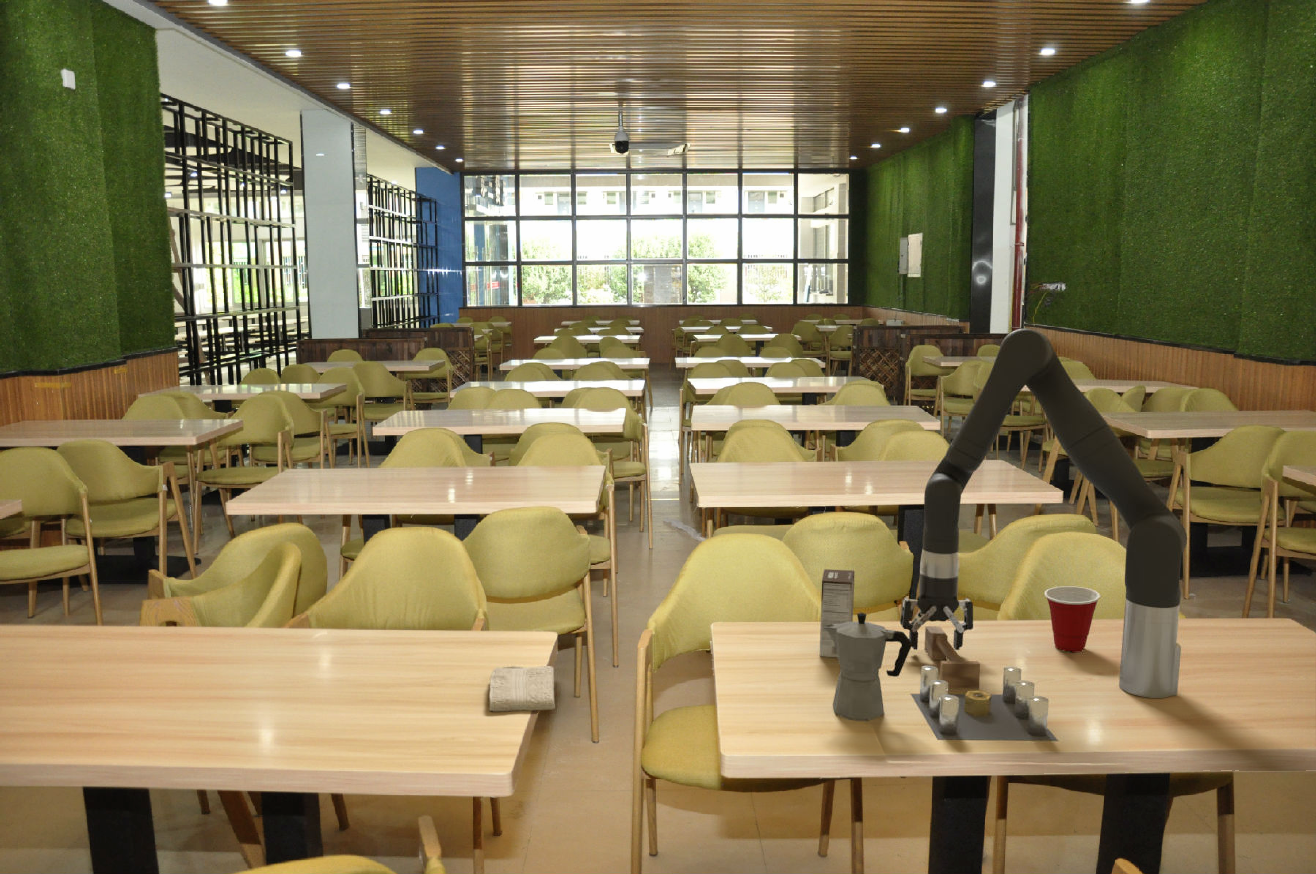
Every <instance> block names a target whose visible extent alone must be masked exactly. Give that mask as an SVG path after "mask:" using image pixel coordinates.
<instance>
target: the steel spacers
mask: <svg viewBox="0 0 1316 874" xmlns="http://www.w3.org/2000/svg"><path fill="white" fill-rule="evenodd" d="M1002 680H1003V681H1002V683H1003V684H1002V693H1001V695H1002V701H1003V702H1005V703H1008V704H1015V714H1014V716H1015V717H1016V718H1019V719H1023V720H1028V733H1029V734H1030V735H1033V736H1037V737H1043V736H1046V733H1047V728H1048V719H1049V718H1048V716H1049V714H1048V713H1049V698H1048V697H1046V696H1041V695H1035V683H1034V682H1032V681H1029V680H1022V669H1021V668H1019V667H1018V666H1013V665H1012V666H1011V665H1008V666H1005V667H1003V679H1002ZM919 684H920V685H919V694H920V701H922V702H925V703H929V716H930V717H932V718H936V719H939V732H940V733H941V734H943V735H947V736H954V735H956V734H957V729H958V710H959V698H958V697H956V696H953V695H948V694H949V688H948V682H946V681H944V680H940V679H939V668H938V667H936V666H934V665H926V664H925V665H922V666H921V667H920V682H919Z"/></svg>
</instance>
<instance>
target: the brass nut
mask: <svg viewBox="0 0 1316 874" xmlns="http://www.w3.org/2000/svg"><path fill="white" fill-rule="evenodd" d="M965 694H966V695H965V707H964V711H965V712H967V713H969V714H971V715H973V716H988V714H989V713H990V709H991V695H989V693H987V692H984V691H982V690H968V691H967V692H966V693H965Z"/></svg>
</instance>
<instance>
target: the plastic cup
mask: <svg viewBox="0 0 1316 874" xmlns="http://www.w3.org/2000/svg"><path fill="white" fill-rule="evenodd" d="M1044 596H1045V598H1046V600H1047V603H1048V605H1049V606H1048V607H1049V613H1050V619H1051V620H1050V621H1051V627H1052V628H1051V629H1052V632H1053V642H1054V646H1055V648H1056V649H1057V648H1058V649H1057V650H1059V651H1063V650H1065V651H1064V652H1067V651H1072V652H1071V653H1079V652H1083V651H1084V650H1085V648H1086V646H1087V645H1086V644H1087V639H1088V637H1089V635H1090V630H1091V627H1092V622H1093V618H1094V614H1095V610H1096V607H1097V604H1098V601H1099V599H1101V595H1100V593H1099V591H1096V590H1094V589H1090V588H1087V587H1082V586H1075V585H1074V586H1073V585H1071V586H1070V585H1066V586H1065V585H1062V586H1053V587H1051V588H1047V589H1046V590H1045V591H1044ZM1082 650H1083V651H1082Z"/></svg>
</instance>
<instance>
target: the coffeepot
mask: <svg viewBox="0 0 1316 874" xmlns="http://www.w3.org/2000/svg"><path fill="white" fill-rule="evenodd" d="M856 615H857V621H853V622H845V623H842V624H831V625H827V626H826V627H825V628H824V629H825V630H827V631H828V633H829V634H830V636H831V638H832V640H833V642H834V644H835V645H836V647H837V650H838V657H837V659H838V664H839V666H840V671H839V672H840V673H839V674H838V678H837V682H836V687H835V693H834V696H833V702H832V707H833V711H834V713H835V714H836V715H837V716H840V717H841V718H844V719H848V720H852V721H858V722H859V721H860V722H861V721H862V722H866V721H869V720H873V719H876V718H879V717H880V716H882V715H884V714H885V709H884V708H885V707H884V701H883V693H882V687H881V685H882V684H881V679H880V676H879V672H880V671H879V670H880V669H882V665H883V659H884V656H885V655H884V654H885V650H886V645H887V644H886V643H887V642H888V643H891V642H892V643H894V642H896V643H897V642H898V643H900V645H901V646H900V648H899V650H898V655H897V658H896V660H895V661H894V669H893V670H888V669H886V674H887V676H888V677H897V678H898V677H899V676H900V674H901V672H902V670H903V667H904V664H905V662H906V660H907V658H908V656H909V653H910V651H911V650H912V647H911V641H910V640H909V636H907V634H906V633H905V632H904V631H899V630H893V629H887V628H886V627H885V626H883V625H880V624H876V623H872V622H869V621H866V619H867V613H866V612H858V613H857V614H856Z"/></svg>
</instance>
